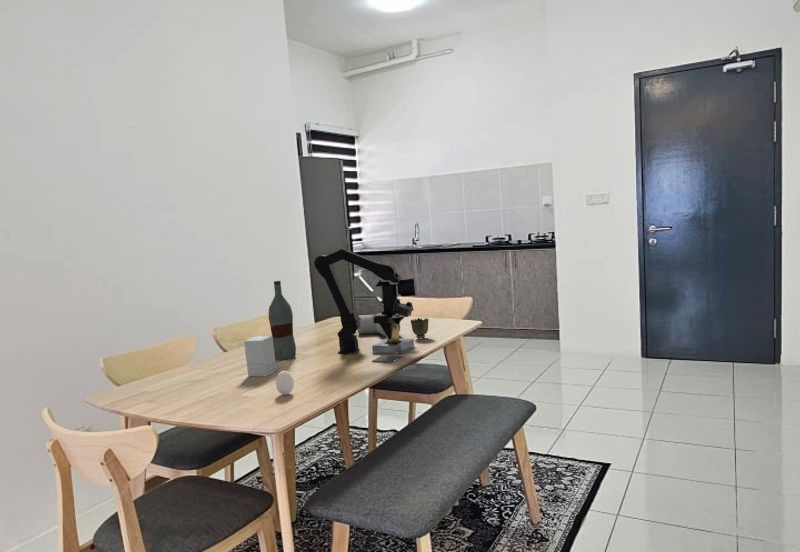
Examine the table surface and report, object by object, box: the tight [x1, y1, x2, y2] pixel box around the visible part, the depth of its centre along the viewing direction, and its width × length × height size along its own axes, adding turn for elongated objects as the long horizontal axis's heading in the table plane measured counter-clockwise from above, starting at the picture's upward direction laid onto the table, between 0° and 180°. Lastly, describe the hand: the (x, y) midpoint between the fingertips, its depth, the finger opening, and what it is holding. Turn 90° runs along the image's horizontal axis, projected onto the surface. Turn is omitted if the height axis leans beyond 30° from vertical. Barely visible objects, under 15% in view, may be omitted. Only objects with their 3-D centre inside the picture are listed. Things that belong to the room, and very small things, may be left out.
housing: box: [371, 337, 415, 354], centre depth 220 cm, size 12×12×3 cm
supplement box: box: [243, 335, 277, 377], centre depth 200 cm, size 7×7×13 cm
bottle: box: [268, 280, 297, 362], centre depth 219 cm, size 9×9×30 cm
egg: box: [275, 370, 295, 396], centre depth 173 cm, size 5×5×7 cm
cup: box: [410, 317, 429, 339], centre depth 237 cm, size 8×7×8 cm
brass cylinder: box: [386, 322, 400, 344], centre depth 220 cm, size 5×5×10 cm
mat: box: [371, 354, 403, 363], centre depth 206 cm, size 8×8×1 cm
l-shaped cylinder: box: [356, 312, 401, 338], centre depth 252 cm, size 18×11×20 cm
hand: (392, 337), depth 220 cm, fingers closed on brass cylinder, 5 cm apart
